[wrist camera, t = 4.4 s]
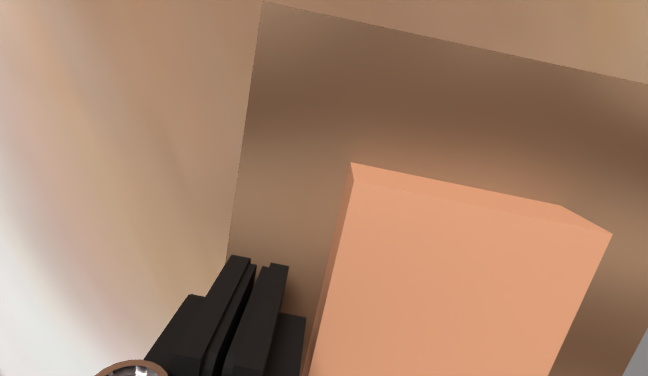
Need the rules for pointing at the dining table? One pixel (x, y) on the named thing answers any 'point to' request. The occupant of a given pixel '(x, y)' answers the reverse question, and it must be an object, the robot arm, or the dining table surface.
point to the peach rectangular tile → (448, 280)
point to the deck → (440, 155)
